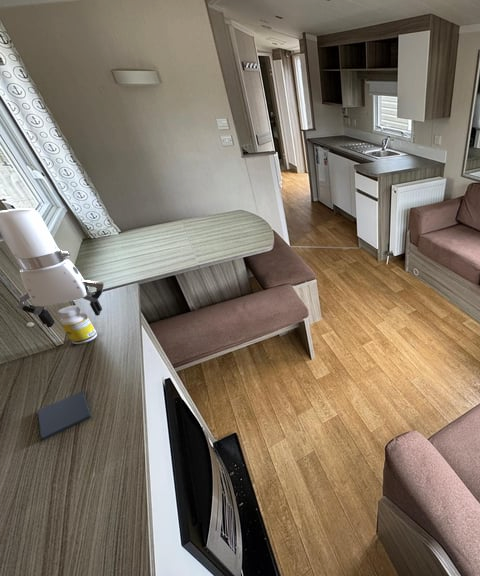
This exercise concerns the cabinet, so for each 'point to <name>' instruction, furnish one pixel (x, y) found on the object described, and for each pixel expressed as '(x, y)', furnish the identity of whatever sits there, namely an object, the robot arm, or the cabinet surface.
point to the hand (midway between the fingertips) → (75, 319)
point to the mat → (63, 415)
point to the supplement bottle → (77, 325)
